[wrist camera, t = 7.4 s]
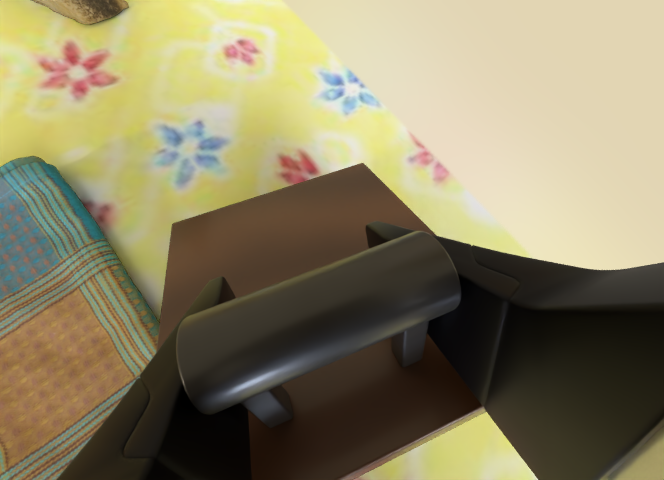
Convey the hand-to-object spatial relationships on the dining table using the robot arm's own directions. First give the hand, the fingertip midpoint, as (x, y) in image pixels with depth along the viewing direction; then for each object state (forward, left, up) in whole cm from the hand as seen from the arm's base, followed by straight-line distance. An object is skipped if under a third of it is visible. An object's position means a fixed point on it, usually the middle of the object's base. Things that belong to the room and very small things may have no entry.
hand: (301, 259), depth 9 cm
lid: (0, 0, -3) cm, 3 cm away
